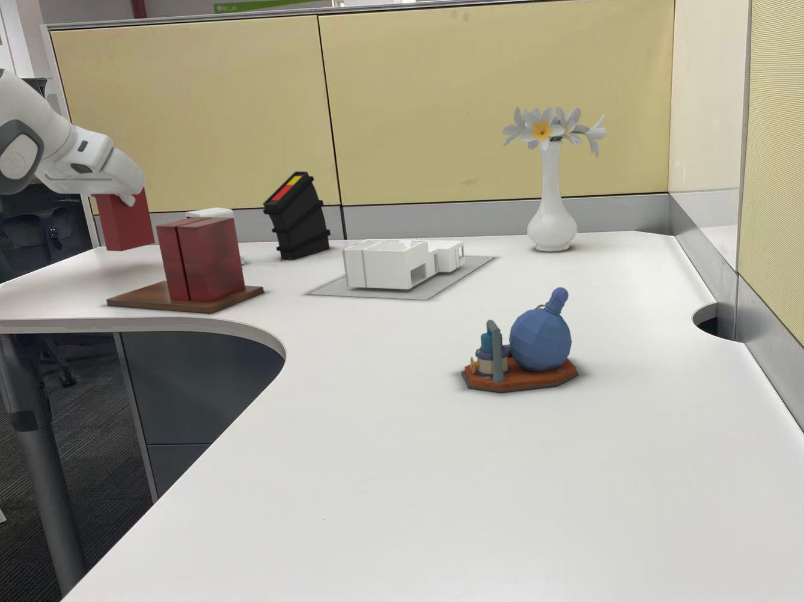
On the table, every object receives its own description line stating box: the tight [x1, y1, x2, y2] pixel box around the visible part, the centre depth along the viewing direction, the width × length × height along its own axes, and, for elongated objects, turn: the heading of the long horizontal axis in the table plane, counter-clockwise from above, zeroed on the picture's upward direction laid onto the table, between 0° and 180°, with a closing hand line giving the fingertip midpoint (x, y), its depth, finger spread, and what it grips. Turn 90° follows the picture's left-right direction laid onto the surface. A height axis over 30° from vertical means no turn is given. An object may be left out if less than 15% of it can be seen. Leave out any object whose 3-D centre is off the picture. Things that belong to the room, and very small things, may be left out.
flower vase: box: [501, 105, 607, 253], centre depth 144 cm, size 13×18×25 cm
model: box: [460, 286, 579, 393], centre depth 85 cm, size 12×9×9 cm
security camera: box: [184, 207, 246, 265], centre depth 145 cm, size 6×7×10 cm
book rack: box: [106, 217, 265, 314], centre depth 122 cm, size 12×20×12 cm, turn 69°
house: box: [309, 238, 494, 301], centre depth 129 cm, size 22×18×6 cm
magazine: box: [262, 170, 332, 260], centre depth 151 cm, size 4×13×15 cm, turn 153°
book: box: [95, 185, 156, 252], centre depth 145 cm, size 8×4×11 cm, turn 159°
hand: (120, 203), depth 144 cm, fingers closed on book, 3 cm apart
